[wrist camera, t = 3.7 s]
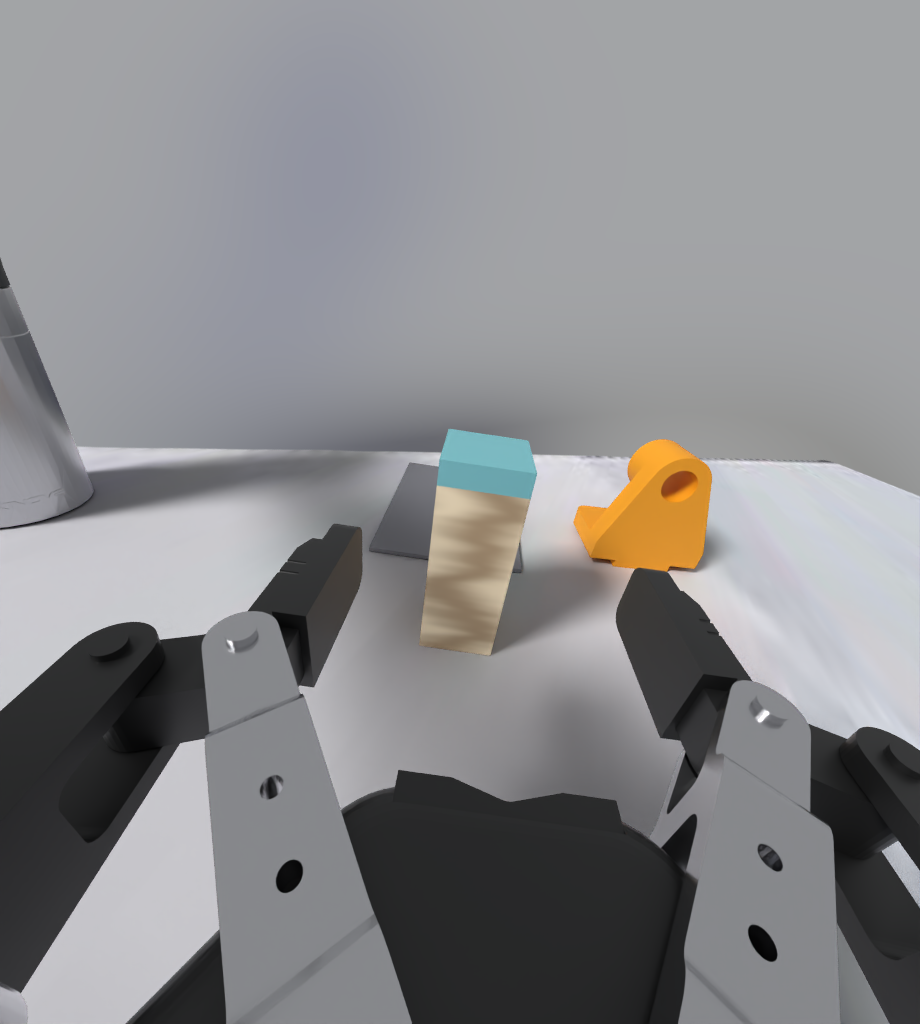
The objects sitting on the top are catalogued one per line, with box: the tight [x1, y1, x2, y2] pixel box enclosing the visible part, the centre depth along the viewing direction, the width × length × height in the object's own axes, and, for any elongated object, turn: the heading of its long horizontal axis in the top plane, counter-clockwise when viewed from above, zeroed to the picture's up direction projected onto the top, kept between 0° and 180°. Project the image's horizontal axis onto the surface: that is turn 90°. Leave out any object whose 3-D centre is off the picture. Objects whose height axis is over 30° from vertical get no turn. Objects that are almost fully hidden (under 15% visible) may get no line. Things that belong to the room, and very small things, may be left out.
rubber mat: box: [369, 463, 522, 573], centre depth 43 cm, size 20×14×1 cm
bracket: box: [574, 439, 712, 572], centre depth 38 cm, size 11×7×12 cm, turn 90°
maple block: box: [419, 429, 537, 656], centre depth 25 cm, size 5×5×14 cm
